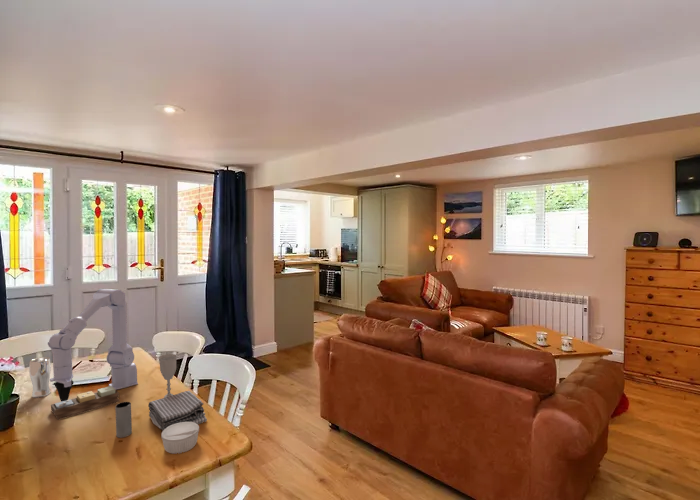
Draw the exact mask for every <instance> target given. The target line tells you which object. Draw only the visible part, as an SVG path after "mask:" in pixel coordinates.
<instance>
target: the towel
mask: <svg viewBox="0 0 700 500" xmlns="http://www.w3.org/2000/svg"><path fill="white" fill-rule="evenodd" d="M203 406H204V402H202V400H201V399H200V398H198V397H197V396H196V395H195V394H194V393H193V392H192V391H190V390H185V391H182V392H179V393H177V394H173V395H171V396H168V397H165V398H164V397H163V398H159V399H155V400H152V401H149V402H148V411H149V412H148V417H149V418H150V419H151V421H152V424H153V425H155V426H156V427H158V429H159V430H162V431H163V430H164V429H166V428H167V427H168V426H170V425H173V424H176V423H180V422H194V423H196V424H198V425H200V424H203V422H204V423H206V422H207V421H208V418H207V416H206V413H205V409H204V407H203Z"/></svg>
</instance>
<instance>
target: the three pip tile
mask: <svg viewBox="0 0 700 500" xmlns="http://www.w3.org/2000/svg"><path fill="white" fill-rule="evenodd" d="M71 399H72V398H70V399H69V398H68V400H66V401H62V402H61V401H59V402H54V404H55V408H56V409H60V408H63V407H67V406H71V405H74V403H73V402H72V400H71Z"/></svg>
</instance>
